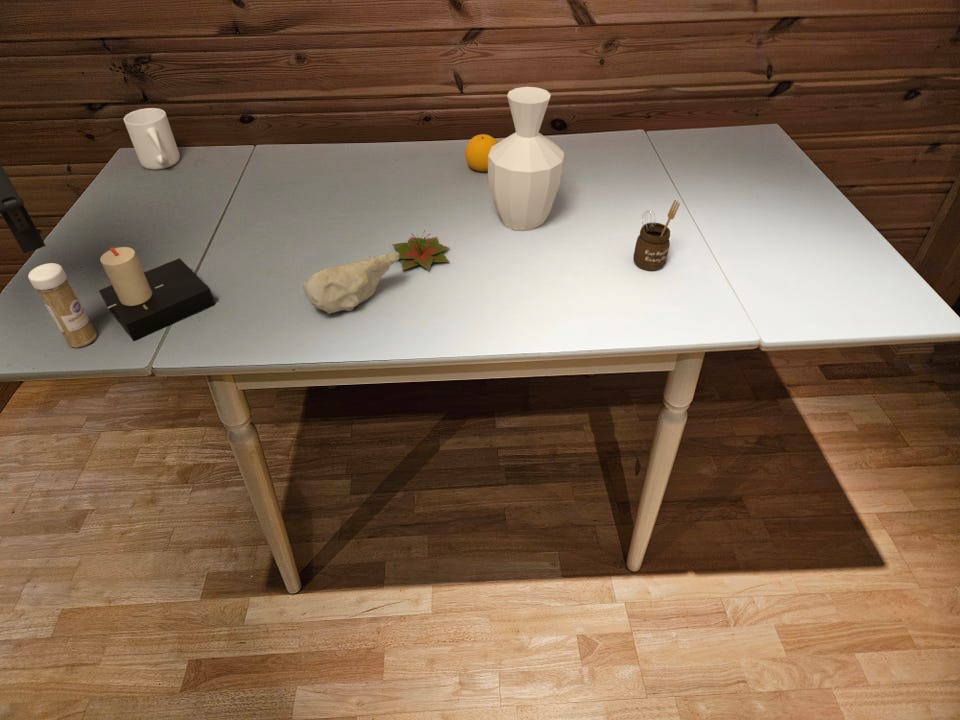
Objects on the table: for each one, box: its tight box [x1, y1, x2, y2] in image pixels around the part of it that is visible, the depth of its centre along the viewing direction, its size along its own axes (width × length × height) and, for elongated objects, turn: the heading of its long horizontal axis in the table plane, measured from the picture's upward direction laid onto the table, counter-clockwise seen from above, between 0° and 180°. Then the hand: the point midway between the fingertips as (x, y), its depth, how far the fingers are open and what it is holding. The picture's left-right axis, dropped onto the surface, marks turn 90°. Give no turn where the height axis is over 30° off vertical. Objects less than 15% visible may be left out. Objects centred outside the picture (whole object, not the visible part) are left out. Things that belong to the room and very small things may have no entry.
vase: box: [487, 86, 565, 232], centre depth 123 cm, size 14×14×25 cm
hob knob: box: [100, 246, 152, 306], centre depth 105 cm, size 5×5×8 cm
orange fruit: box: [464, 133, 499, 172], centre depth 145 cm, size 8×8×8 cm
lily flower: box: [391, 230, 450, 272], centre depth 121 cm, size 12×12×5 cm
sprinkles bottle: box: [27, 262, 98, 349], centre depth 101 cm, size 5×5×13 cm
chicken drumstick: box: [301, 251, 400, 315], centre depth 110 cm, size 15×7×15 cm
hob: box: [98, 257, 216, 342], centre depth 110 cm, size 15×12×4 cm
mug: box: [123, 107, 181, 171], centre depth 145 cm, size 9×12×11 cm
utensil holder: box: [633, 199, 681, 272], centre depth 116 cm, size 6×6×12 cm
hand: (19, 228), depth 91 cm, fingers open, 13 cm apart
